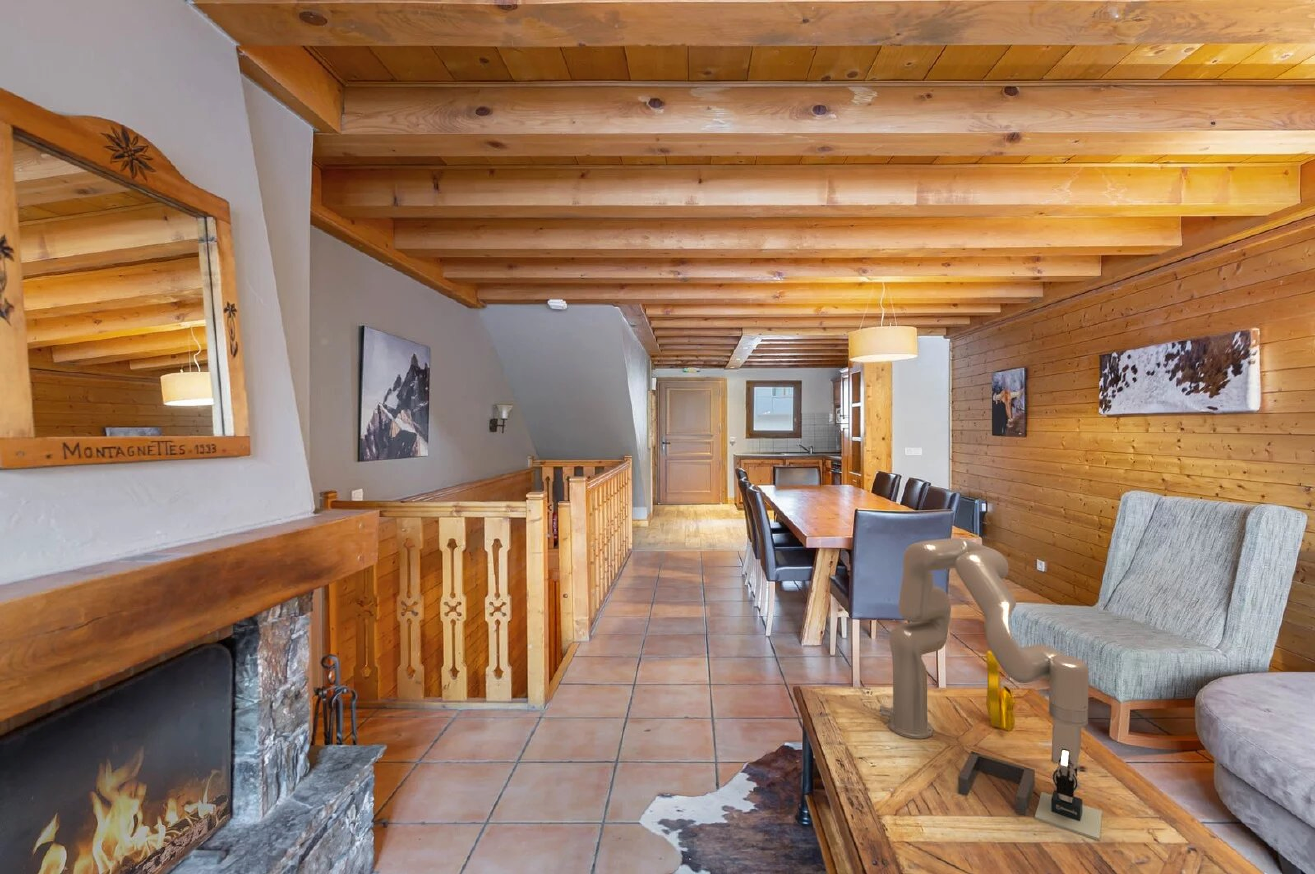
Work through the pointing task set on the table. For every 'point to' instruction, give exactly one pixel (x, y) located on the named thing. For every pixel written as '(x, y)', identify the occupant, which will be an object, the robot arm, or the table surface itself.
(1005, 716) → the figure statuette
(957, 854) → the table surface
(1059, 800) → the watch
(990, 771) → the u-shaped metal bracket
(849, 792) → the table surface
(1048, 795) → the sage mat
